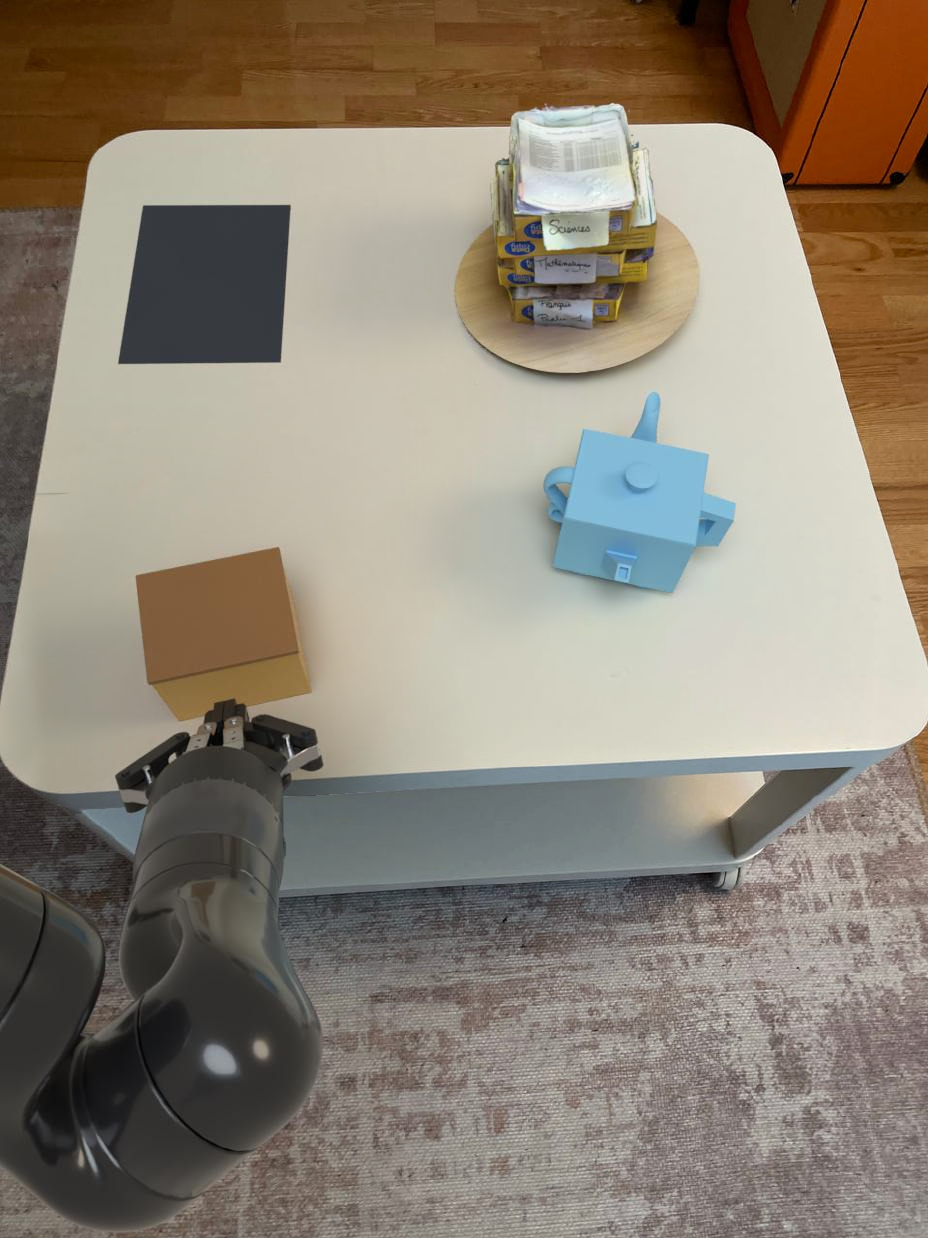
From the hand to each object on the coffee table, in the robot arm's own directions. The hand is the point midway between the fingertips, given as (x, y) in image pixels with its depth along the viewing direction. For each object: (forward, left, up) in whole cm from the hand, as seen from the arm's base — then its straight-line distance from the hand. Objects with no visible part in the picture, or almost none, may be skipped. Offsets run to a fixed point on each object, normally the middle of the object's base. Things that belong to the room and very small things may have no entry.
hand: (228, 712), depth 66 cm
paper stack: (+30, +50, -11) cm, 59 cm away
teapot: (+32, +20, -11) cm, 39 cm away
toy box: (-2, +9, -11) cm, 14 cm away
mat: (-8, +52, -11) cm, 53 cm away
